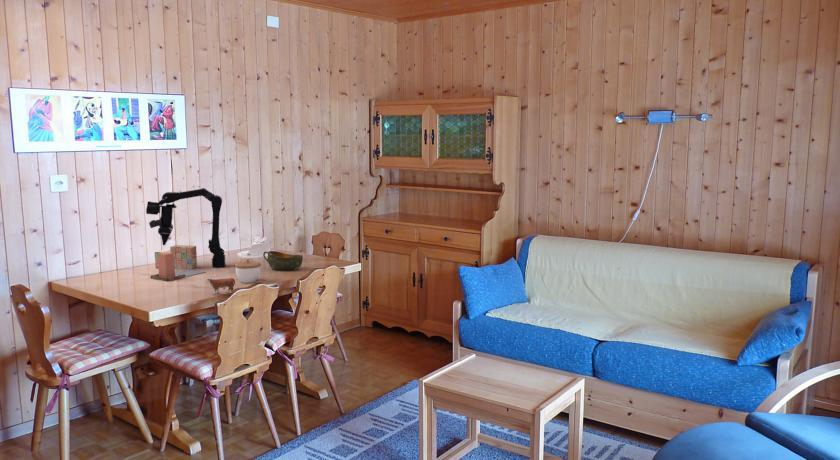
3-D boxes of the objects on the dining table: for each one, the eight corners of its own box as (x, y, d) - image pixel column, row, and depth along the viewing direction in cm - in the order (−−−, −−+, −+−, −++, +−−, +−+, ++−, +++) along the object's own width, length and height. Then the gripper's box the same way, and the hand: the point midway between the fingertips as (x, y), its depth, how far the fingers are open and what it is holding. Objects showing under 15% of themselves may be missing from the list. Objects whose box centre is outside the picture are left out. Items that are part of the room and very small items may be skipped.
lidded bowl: (266, 281, 337) (265, 259, 335) (244, 285, 328) (243, 263, 326) (252, 277, 345) (251, 256, 344) (230, 281, 336) (229, 259, 334)
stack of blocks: (155, 268, 367) (153, 246, 366) (160, 266, 373) (159, 244, 372) (192, 269, 365) (191, 247, 363) (197, 267, 371) (196, 245, 370)
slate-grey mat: (190, 270, 363) (190, 269, 363) (205, 272, 357) (205, 271, 357) (172, 274, 353) (172, 273, 353) (187, 276, 347) (187, 275, 347)
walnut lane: (168, 274, 351) (168, 271, 351) (185, 277, 345) (185, 274, 344) (150, 278, 342) (150, 275, 342) (167, 281, 335) (167, 278, 335)
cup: (279, 265, 376) (278, 247, 374) (305, 269, 365) (305, 251, 363) (262, 269, 365) (261, 251, 364) (288, 274, 354) (288, 255, 353)
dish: (250, 250, 424) (249, 233, 423) (286, 252, 418) (285, 234, 416) (229, 257, 401) (228, 239, 399) (267, 259, 394) (266, 240, 393)
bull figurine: (206, 292, 312) (206, 275, 311) (236, 292, 313) (235, 275, 312) (204, 295, 308) (204, 277, 307) (234, 294, 309) (233, 277, 308)
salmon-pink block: (168, 276, 347) (166, 251, 345) (175, 277, 344) (174, 252, 342) (159, 278, 342) (157, 253, 340) (166, 279, 339) (165, 254, 337)
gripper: (152, 212, 368) (150, 240, 369) (148, 216, 350) (146, 245, 352) (174, 213, 371) (172, 241, 373) (171, 218, 353) (169, 247, 355)
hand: (164, 243), depth 363 cm, fingers open, 9 cm apart
